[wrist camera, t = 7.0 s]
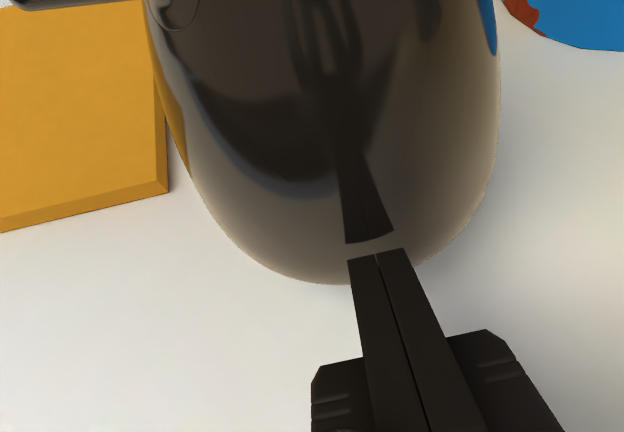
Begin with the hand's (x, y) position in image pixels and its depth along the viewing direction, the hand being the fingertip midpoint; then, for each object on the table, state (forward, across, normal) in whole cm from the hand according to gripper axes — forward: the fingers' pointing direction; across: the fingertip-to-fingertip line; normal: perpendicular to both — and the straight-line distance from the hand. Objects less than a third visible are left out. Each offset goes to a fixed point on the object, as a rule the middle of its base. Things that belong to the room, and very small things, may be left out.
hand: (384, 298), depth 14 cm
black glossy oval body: (+8, 0, 0) cm, 8 cm away
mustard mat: (+15, -13, +7) cm, 21 cm away
